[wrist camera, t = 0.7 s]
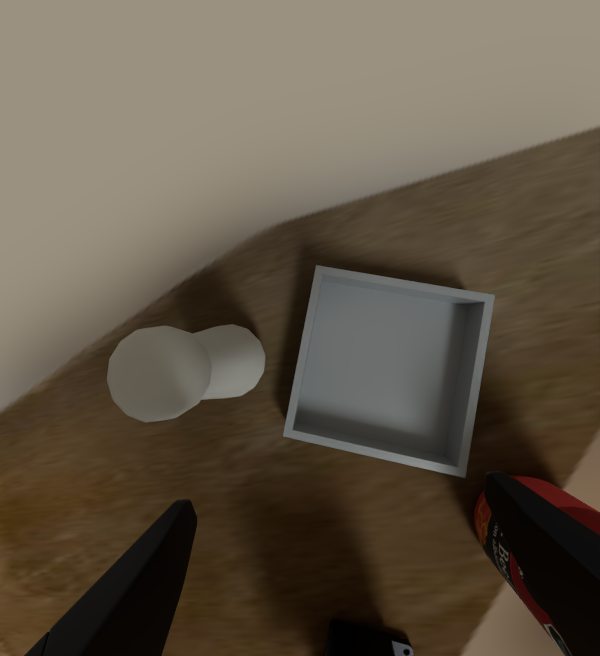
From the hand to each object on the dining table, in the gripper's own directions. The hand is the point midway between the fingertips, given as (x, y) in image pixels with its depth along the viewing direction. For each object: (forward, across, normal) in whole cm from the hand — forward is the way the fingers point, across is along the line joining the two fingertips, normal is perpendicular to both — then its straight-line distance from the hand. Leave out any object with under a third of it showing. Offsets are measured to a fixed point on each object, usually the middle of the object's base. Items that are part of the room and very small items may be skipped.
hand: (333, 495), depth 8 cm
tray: (+15, -5, +4) cm, 16 cm away
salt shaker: (+16, +7, +2) cm, 18 cm away
